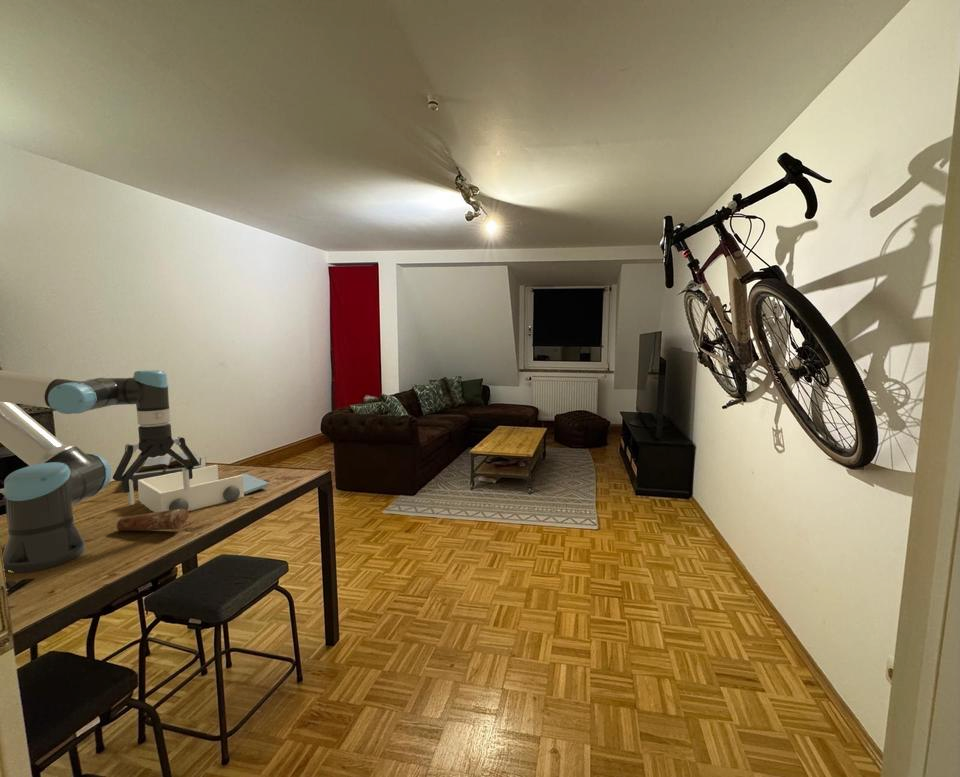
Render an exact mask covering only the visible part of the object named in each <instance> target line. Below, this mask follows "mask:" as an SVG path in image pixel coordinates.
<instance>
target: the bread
mask: <svg viewBox="0 0 960 777" xmlns="http://www.w3.org/2000/svg"><path fill="white" fill-rule="evenodd" d="M188 518H189V511H188V510H187V509H177V510H169V511H162V512H154V511H153V512H150V513H149V512H148V513H144V514H143V513H142V514H136V515H130V516H124V517H121V518H120V519H119V520H118V521H117V524H116V529H117V531H118V532H128V531H129V532H134V531H135V532H137V531H139V532H140V531H161V530H165V531H167V530H178V529H181V528H182V526H183V525H184V524H185V523H186V521H187V520H188Z"/></svg>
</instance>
